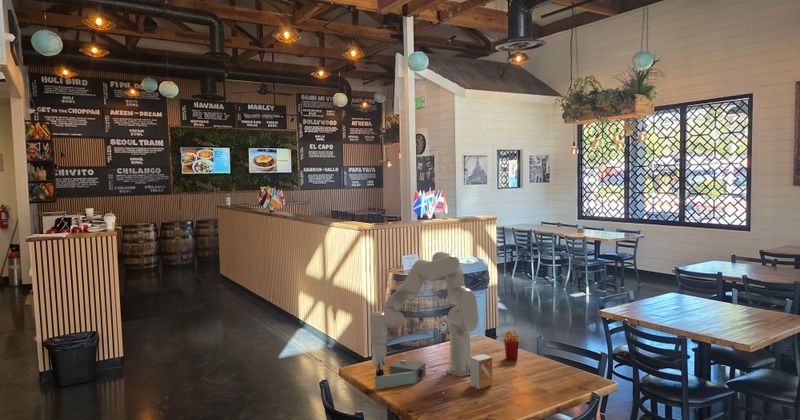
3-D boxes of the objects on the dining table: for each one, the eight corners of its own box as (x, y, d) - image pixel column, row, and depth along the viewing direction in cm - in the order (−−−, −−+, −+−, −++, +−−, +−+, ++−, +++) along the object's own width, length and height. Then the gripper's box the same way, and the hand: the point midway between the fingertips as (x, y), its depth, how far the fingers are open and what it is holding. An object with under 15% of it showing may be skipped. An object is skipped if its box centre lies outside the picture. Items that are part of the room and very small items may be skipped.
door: (416, 382, 241) (415, 371, 241) (416, 382, 240) (416, 371, 240) (375, 387, 235) (374, 376, 235) (375, 388, 234) (375, 377, 234)
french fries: (519, 361, 267) (519, 332, 266) (503, 361, 267) (502, 332, 266) (515, 355, 275) (515, 327, 275) (500, 356, 275) (499, 327, 275)
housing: (427, 376, 249) (427, 361, 249) (418, 383, 241) (417, 368, 240) (399, 371, 257) (399, 357, 256) (389, 378, 248) (389, 364, 247)
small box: (479, 389, 232) (479, 360, 231) (469, 385, 237) (469, 357, 236) (492, 385, 236) (492, 357, 235) (483, 381, 241) (482, 353, 241)
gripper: (368, 335, 243) (369, 373, 244) (373, 344, 229) (374, 385, 230) (384, 333, 245) (385, 372, 246) (389, 343, 230) (391, 384, 231)
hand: (380, 378), depth 238 cm, fingers closed
